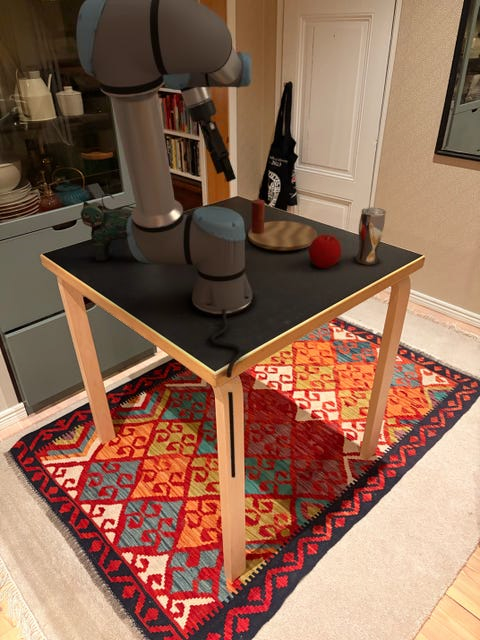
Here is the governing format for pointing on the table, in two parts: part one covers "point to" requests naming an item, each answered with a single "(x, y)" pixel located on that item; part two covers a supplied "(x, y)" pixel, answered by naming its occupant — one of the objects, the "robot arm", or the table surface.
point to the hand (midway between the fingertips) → (226, 176)
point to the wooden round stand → (278, 232)
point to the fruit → (325, 251)
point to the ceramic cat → (105, 225)
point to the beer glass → (370, 234)
